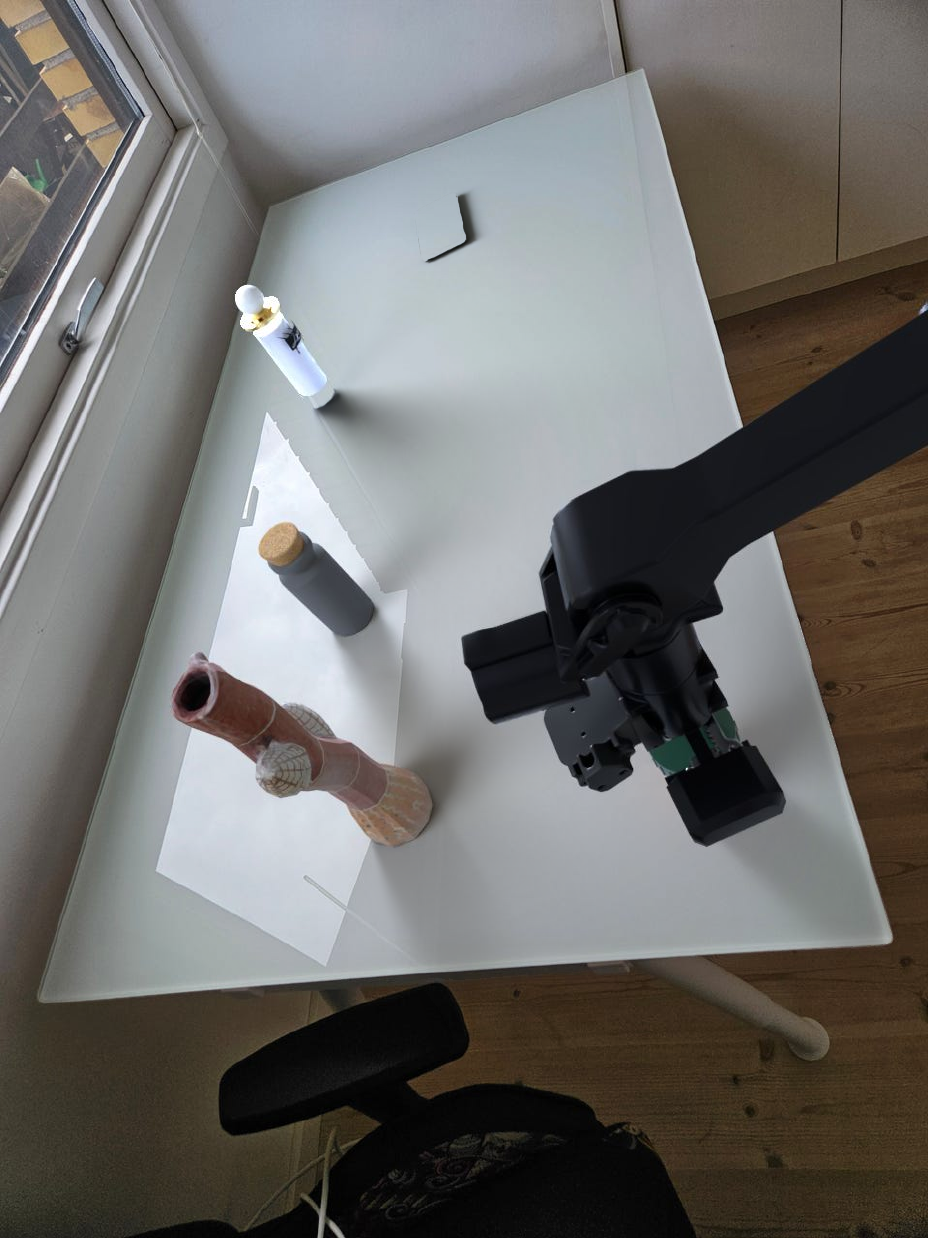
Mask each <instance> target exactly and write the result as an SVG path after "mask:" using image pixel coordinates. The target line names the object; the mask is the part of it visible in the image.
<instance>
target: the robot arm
mask: <svg viewBox="0 0 928 1238" xmlns="http://www.w3.org/2000/svg"><path fill="white" fill-rule="evenodd" d="M927 447H928V299H927V300H926V301H925V303H924V304H923V305H922V307H921V308H920V309H919V312H918V314H917V315H916V316H915V317H914V318H912V319H910V320H909V321H907V322H905V323H904V324H902V325H901V326H899V327H898V328H896V329H894V330H893V331H892V332H890V333H888V334H887V335H885V336H884V337H882V338H881V339H879V340H878V341H876V342H874V343H873V344H871V345H869V346H868V347H866V348H865V349H863V350H862V351H860V352H858V353H857V354H855V355H854V356H852V357H851V358H849V359H847V360H845V361H844V362H843V363H841V364H839V365H838V366H836V367H835V368H833V369H832V370H830V371H829V372H827V373H825V374H824V375H822V376H821V377H819V378H817V379H815V380H814V381H813V382H811V383H810V384H808V385H807V386H805V387H803V388H802V389H800V390H799V391H797V392H795V393H794V394H792V395H791V396H788V398H786V399H785V400H783V401H781V402H780V403H778V404H777V405H775V406H773V407H772V408H770V409H769V410H767V411H765V412H763V413H762V414H761V415H759V416H758V417H756V418H754V419H752V421H750V422H748V423H747V424H745V425H744V426H742V427H741V428H738V429H737V430H736V431H734V432H733V433H731V434H729V435H728V436H726V437H725V438H723V439H722V440H720V441H718V442H717V443H715V444H713V445H712V446H710V447H709V448H707V449H706V450H704V451H702V452H701V453H699V454H697V455H696V456H694V457H693V458H690V459H688V460H686V461H684V462H682V463H680V464H678V465H676V466H673V467H662V468H644V469H631V470H629V471H626V472H624V473H622V474H620V475H617V476H615V477H614V478H612V479H610V480H608V481H606V482H603V483H602V484H600V485H598V486H595V487H594V488H592V489H590V490H588V491H585V492H584V493H582V494H579V495H577V496H576V497H574V498H573V499H571V500H570V501H568V502H567V503H566V504H565V505H563V506H562V507H561V508H560V509H559V510H558V511H557V512H556V514H555V515H554V516H553V518H552V525H551V530H550V535H549V539H550V545H551V546H550V548H549V549H548V551H547V554H546V556H545V558H544V561H543V562H542V565H541V567H540V569H539V570H538V577H539V582H540V587H541V591H542V596H543V603H544V606H545V607H544V608H545V609H543V610H541V611H538V612H534V613H532V614H529V615H525V616H523V617H520V618H517V619H514V620H511V621H508V622H505V623H502V624H499V625H496V626H493V627H487V628H481V629H478V630H475V631H472V632H468V633H466V634H463V635H462V636H461V637H460V639H461V640H460V642H461V649H462V657H463V664H464V666H465V667H466V668H467V669H468V670H469V672H470V675H471V678H472V681H473V684H474V688H475V691H476V693H477V696H478V698H479V700H480V702H481V704H482V708H483V714H484V716H485V718H486V719H487V720H488V721H489V722H490V723H491V724H492V725H499V724H502V723H507V722H510V721H512V720H513V721H514V720H517V719H519V718H523V717H527V716H529V715H533V714H536V713H540V712H543V711H544V715H543V723H544V726H545V728H546V730H547V733H548V736H549V739H550V740H551V743H552V745H553V748H554V750H555V753H556V756H557V758H558V760H559V762H560V763H561V764H562V765H564V766H565V767H567V768H568V771H569V773H570V776H571V777H572V778H575V779H576V780H577V783H578V785H579V787H583V788H584V787H588V789H590V790H592V791H596V792H598V793H605V792H608V791H610V790H612V789H613V788H615V787H616V786H618V785H619V784H620V783H622V782H624V781H625V780H627V779H628V778H630V777H631V776H632V775H633V773H634V767H633V765H632V762H631V758H632V756H633V755H635V754H636V752H637V750H636V748H635V747H636V746H639V745H641V744H642V746H643V747H644V749H645V751H646V752H647V753H649V751H651V750H653V749H655V748H657V747H660V746H662V745H664V744H665V741H664V739H663V737H664V738H665V739H666V740H667V741H671V740H673V739H675V738H677V737H681V736H685V737H686V739H687V741H688V743H689V744H690V746H691V748H692V750H693V752H694V754H695V756H694V757H692V758H690V761H691V763H692V765H691V766H689V767H686V768H684V769H682V770H680V771H678V772H676V773H673V774H671V775H669V776H665V777H664V781H665V782H666V784H667V786H666V787H665V789H666V790H667V792H668V794H669V796H670V798H671V801H672V802H673V803H674V807H675V809H676V810H677V812H678V814H679V816H680V819H681V820H682V822H683V824H684V826H685V828H686V831H687V833H688V835H689V836H690V837H691V839H692V841H693V842H694V843H695V844H698V845H700V846H703V847H706V848H708V847H711V846H712V845H714V844H717V843H719V842H722V841H724V840H726V839H728V838H731V837H732V836H735V835H737V834H739V833H742V832H743V831H746V830H748V829H751V828H753V827H756V826H757V825H759V824H762V823H764V822H766V821H768V820H770V819H773V818H775V817H778V816H780V815H782V814H783V813H784V810H785V806H786V804H787V799H786V795H785V793H784V790H783V788H782V787H781V785H780V783H779V782H778V780H777V778H776V777H775V775H774V773H773V771H772V770H771V768H770V767H769V765H768V763H767V762H766V760H765V758H764V757H763V755H762V753H761V751H760V749H759V748H758V747H757V745H751V744H750V741H749V740H748V739H745V740H743V741H741V740H740V741H739V740H737V739H728V738H726V737H725V735H724V733H723V731H722V730H721V728H720V726H719V724H718V723H717V721H716V719H715V717H714V716H713V713H716V712H718V711H720V710H722V709H724V708H728V707H729V703H728V700H727V698H726V695H724V693H723V691H722V689H721V688H720V686H719V684H718V683H717V681H716V680H717V679H719V678H720V677H719V674H718V670H717V669H716V667H715V666H714V664H713V662H712V660H711V659H710V657H709V655H708V654H707V652H706V651H705V649H704V647H703V646H702V644H701V642H700V639H699V636H698V634H697V631H696V628H695V626H694V623H697V622H701V621H705V620H707V619H710V618H714V617H716V616H719V615H721V614H722V613H723V612H724V606H723V603H722V600H721V598H720V597H721V596H720V595H719V592H718V589H717V586H716V584H715V581H716V580H717V578H718V576H719V575H720V574H721V572H722V571H723V569H724V567H725V566H726V564H727V563H728V561H729V560H730V559H731V558H732V557H733V556H734V555H737V553H739V552H740V551H742V550H743V549H745V548H746V547H747V546H749V545H751V544H752V543H754V542H756V541H758V540H759V539H761V538H763V537H765V536H767V535H769V534H771V533H772V532H774V531H776V530H778V529H780V528H781V527H783V526H785V525H787V524H789V523H791V522H792V521H794V520H796V519H798V518H800V517H801V516H803V515H805V514H807V513H808V512H810V511H812V510H814V509H816V508H817V507H819V506H821V505H823V504H825V503H826V502H828V501H830V500H832V499H834V498H835V497H837V496H839V495H841V494H843V493H844V492H846V491H848V490H850V489H852V488H854V487H856V486H858V485H859V484H861V483H863V482H864V481H866V480H868V479H870V478H872V477H874V476H876V475H878V474H879V473H881V472H883V471H885V470H887V469H888V468H891V467H892V466H894V465H895V464H897V463H899V462H901V461H903V460H904V459H907V458H908V457H910V456H912V455H913V454H915V453H918V452H919V451H921V450H922V449H924V448H927ZM701 727H702V728H703V729H706V730H705V733H706V734H708V735H707V737H708V739H711V740H710V742H711V744H714V745H713V748H712V749H710V747H709V746H708V744H707V742H706V740H705V738H704V737H703V735H702V733H701V731H700V728H701ZM718 748H719V750H720V752H719V751H718Z"/></svg>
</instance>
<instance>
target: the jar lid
mask: <svg viewBox="0 0 928 1238" xmlns="http://www.w3.org/2000/svg"><path fill="white" fill-rule="evenodd" d="M713 716H714V717H715V719H716V721H717V723H718V724H719V726H720V728H721V730H722V731H723V733H724V735H725V737H726V738H728V739H737V740H739V741H740V742H741V738H740V735H739V732H738V731H739V729H738V725H737V723H736V720H734V718H733V716H732V713H731V712H730V710H729V709H728V707H726V708H724V709H722V710H720V711H718V712H716V713H713ZM705 730H706V729H703V728H702V727H701V728H700V731H701V733H702V735H703V737H704V738H705V740H706V742H707V744H708V746H709V747H710V749H712V748H713V745H714V744H711V742H710V740H711V739H708V737H707V735H708V734H706V733H705ZM663 739H664V741H665V744H664V745H662V746H660V747H657V748H655V749H653V750H651V751H649V752H648V753H649V755H650V757H651V760H652V762H653V763H654V765H655V766H656V768H658V769H659V770H660V772H661V773H662V774H663V776H665V777H667V776H669V775H671V774H673V773H676V772H678V771H680V770H682V769H684V768H686V767H689V766H691V765H692V763H691V761H690V758H692V757H694V756H695V754H694V752H693V750H692V748H691V746H690V744H689V743H688V741H687V739H686V737H685V736H681V737H677V738H675V739H673V740H671V741H667V740H666V739H665V738H664V737H663ZM718 751H719V752H720V750H719V748H718Z"/></svg>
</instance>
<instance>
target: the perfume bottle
mask: <svg viewBox="0 0 928 1238" xmlns="http://www.w3.org/2000/svg"><path fill="white" fill-rule="evenodd" d="M235 293H236V294H235V304H236V307H237V308H238V309H239V311H240V312H241V313H242V314H243V315H242V317H241V320H240V325H241V327H242V328H243V329H244V331H246V332H248V333H252V332H253V335H254V337H256V339H257V340H258V342H259V343H260V345H262V347H263V348H264V350H265V351H266V352H267V353H268V354H269V356H270V357H271V358H272V360H273V361H274V363H275V364H276V365H277V367H278V368H279V369H280V370H281V372H282V373H283V374H284V376H285V377H286V379H288V380H289V382H290V383H291V385H292V386H293V387H294V389H295V390H296V391H297V392H298V394H299V395H300V394H301V395H303V396H311V395H314V394H315V393H317V392H319V391H320V390H321V389H322V388H323V387H324V385H325V384H326V382H327V378H328V377H327V375H326V374H325V373H324V371H323V369H321V367H320V366H319V364H318V363H317V361H316V360H315V358H314V357H313V355H312V354H311V353H310V351H309V350H308V349H307V347H306V346H305V344H304V343H303V342H305V339H304V338H303V335H302V333H301V332H300V330H299V329H298V326H297V325H296V324H295V323H294V322H293V320H290V322H291V324H292V326H293V327H292V326H291V325H290V324H289V322H288V321H287V320H286V318H285V317H284V315H283V314H282V313H281V312H280V311H281V304H280V301H278V298H276V297H274V296H269V297H265V296H264V294H263V292H262V291H261V289H259V288H258V287H257V286H255V285H251V284H246V285H243V286H240V287H239V288H238V290H237V291H236V292H235ZM301 340H302V341H303V342H302V341H301ZM326 377H327V378H326ZM301 395H300V396H301Z"/></svg>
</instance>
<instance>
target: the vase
mask: <svg viewBox="0 0 928 1238" xmlns="http://www.w3.org/2000/svg"><path fill="white" fill-rule="evenodd" d="M169 707H170V710H171V713H172V716H173V717H174V718H175V719H176V720H177V721H178V722H180V723H182V724H184V725H186V726H187V727H190V728H192V729H195V730H198V731H200V732H203V733H206V734H209V735H211V736H214V737H216V738H219V739H221V740H224V741H226V742H228V743H229V744H231V745H232V746H233V747H235V748H236V749H237V750H239V751H240V752H241V753H242V754H244V756H245V757H247V758H248V759H250V761H252V762H253V763H254V764H255V780H256V782H257V784H258V785H259V787H260V788H261V789H262V790H263V791H265V792H266V793H267V794H269V795H272V796H275V797H277V798H279V799H284V798H289V797H293V796H298V794H299V793H301V792H308V793H309V792H314V791H320V792H327V793H328V794H329V795H331V796H332V797H334V798H336V799H337V800H339V801H341V802H342V803H344V804H345V805H346V808H347V810H348V812H349V814H350V816H351V817H352V818H353V820H354V821H355V823H356V824H357V825H358V826H359V828H360V829H361V831H362V832H363V833H364V834H365V836H366V837H367V838H369V839H370V840H371V841H372V842H373V843H374V844H376V845H379V846H384V847H385V846H386V847H389V848H396V847H399V846H401V845H403V844H404V845H405V844H406V843H408V842H410V841H413V840H415V839H416V838H417V837H418V836H419V835H420V833H421V832H422V831H423V829H424V828H425V827H426V826H427V824H428V823H429V821H430V818H431V815H432V810H433V806H434V804H433V800H432V797H431V793H430V790H429V787H428V786H427V785H426V783H425V782H424V781H423V779H422V778H421V777H420V776H418V775H417V774H416V773H415V772H413V771H411V770H408V769H405V768H403V767H399V766H395V765H391V764H387V763H380V762H378V761H376V760H375V759H373V758H372V757H371V756H369V755H368V754H367V753H366V752H364V751H363V749H361V748H360V747H358V746H357V745H356V744H355V743H353V742H351V741H348V740H345V739H342V738H339V737H337V736H336V734H335V733H334V731H333V730H332V728H331V727H330V725H329V724H328V723H327V722H326V721H325V720H324V718H323V717H322V716H321V715H320V714H319V713H317V712H316V711H315V710H313V709H312V708H310V707H308V706H306V705H305V704H302V703H298V702H292V701H287V702H282V703H280V704H279V702H277V701H276V700H275V699H274V698H273V697H271V696H270V695H269V694H268V693H266V692H265V691H264V690H262V689H260V688H258V687H257V686H255V685H253V684H250V683H248V682H245V681H243V680H240V679H239V678H236V677H234V676H233V675H232V674H230V673H228V671H226V670H225V669H224V668H223V667H222V666H221V665H219V664H217V663H214V662H210V661H209V659H208V658H207V656H206V655H205V654H204V652H202V651H197V652H194V653H192V654H191V655H190V656H189V661H188V665H187V668H186V670H185V671H184V672H183V674H182V675H181V677H180V678H179V680H178V681H177V683H176V684H175V686H174V688H173V690H172V694H171V697H170V701H169Z"/></svg>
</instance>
